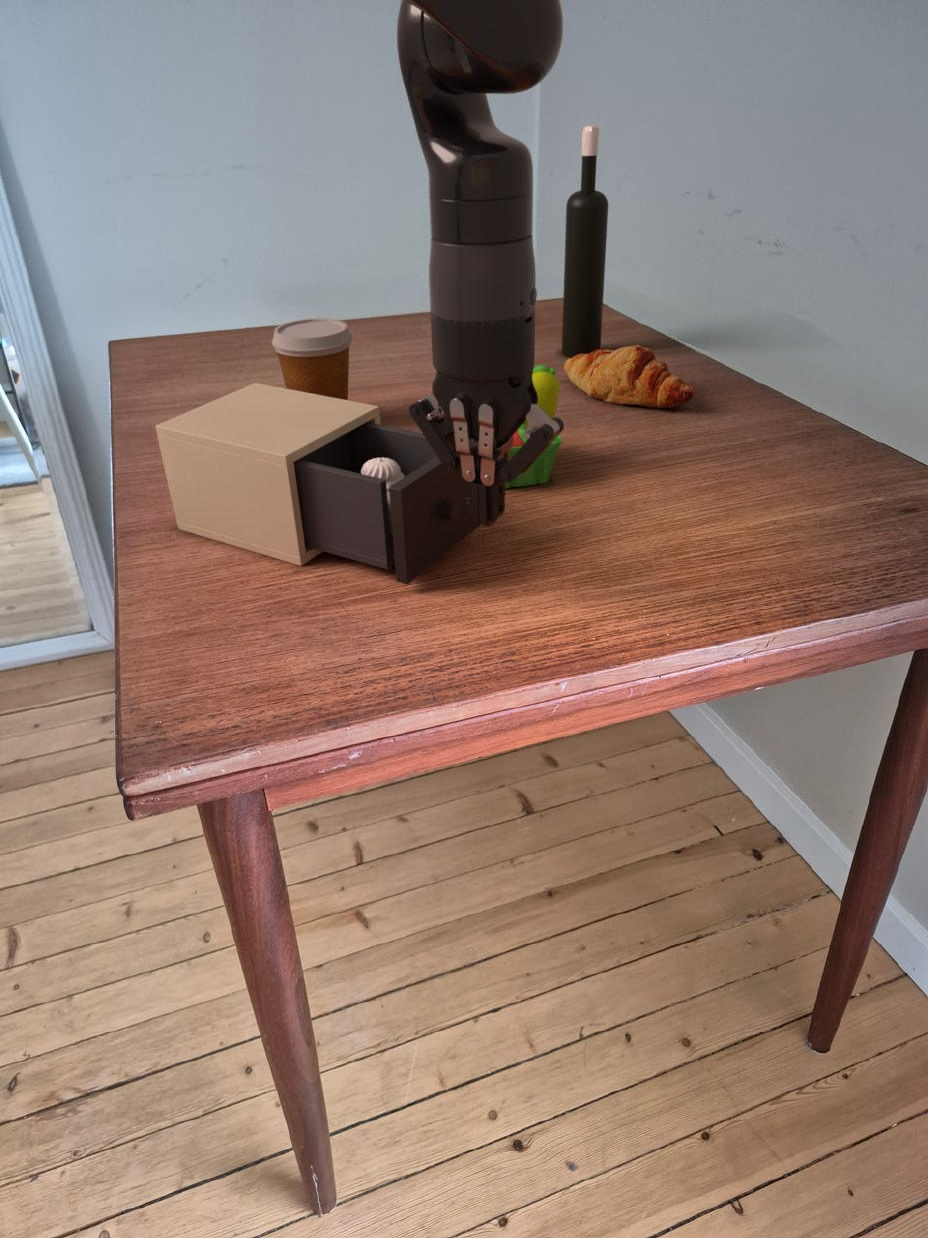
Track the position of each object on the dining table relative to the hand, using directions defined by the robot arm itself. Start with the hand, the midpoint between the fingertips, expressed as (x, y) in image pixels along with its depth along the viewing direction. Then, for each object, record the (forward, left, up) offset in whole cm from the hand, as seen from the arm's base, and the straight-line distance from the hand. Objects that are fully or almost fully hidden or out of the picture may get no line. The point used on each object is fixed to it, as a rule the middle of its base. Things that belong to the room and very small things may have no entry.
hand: (486, 520), depth 73 cm
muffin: (-9, +9, -5) cm, 14 cm away
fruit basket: (+4, +26, -7) cm, 27 cm away
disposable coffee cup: (-20, +41, -7) cm, 47 cm away
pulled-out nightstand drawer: (-10, +9, -6) cm, 14 cm away
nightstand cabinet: (-20, +15, -7) cm, 26 cm away
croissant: (+19, +50, -7) cm, 54 cm away
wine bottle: (+15, +69, -7) cm, 71 cm away
